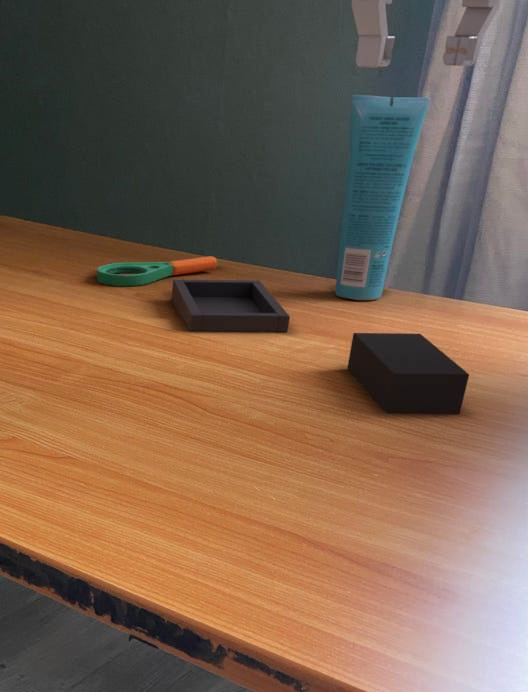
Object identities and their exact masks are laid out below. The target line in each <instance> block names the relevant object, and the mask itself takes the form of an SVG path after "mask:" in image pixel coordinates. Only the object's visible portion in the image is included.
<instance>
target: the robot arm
mask: <svg viewBox="0 0 528 692" xmlns="http://www.w3.org/2000/svg"><path fill="white" fill-rule="evenodd" d="M501 1H502V0H462V1H461V7H462V8H465V9H464V11H463V14H462V16H461V19H460V21H459V23H458V26H457V28H456V29H455V32H454V35H447V36H446V40H445V51H444V53H443V56H442V60H443V61H442V62H443V64H444V65H446V66H455V67H456V66H457V67H460V66H461V67H470V66H473V65H475V64H476V62H477V60H478V56H479V52H480V48H481V43H482V42H481V41H482V38H483V37H484V35H485V33H486V32H487V30H488V28H489V27H490V25H491V23H492V21H493V20H494V18H495V16H496V15H497V12H498V11H499V9H500V5H501ZM392 3H393V0H351V3H350V4H351V10H352V13H353V19H354V22H355V27H356V31H357V35H358V43H357V49H356V56H355V64H356V65H357V67H358V68H371V69H372V68H374V69H375V68H386V67H388V66H389V65H390V64H391V62H392V59H393V53H392V52H393V50H394V48H395V43H396V42H395V41H396V36H393V35H389V29H388V19H387V9H386V5H391V4H392Z"/></svg>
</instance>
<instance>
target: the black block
mask: <svg viewBox="0 0 528 692" xmlns="http://www.w3.org/2000/svg"><path fill="white" fill-rule="evenodd" d="M346 370H347V371H348V372H349V373H350V375H351V376H352V377H353V378H354V379H355V381H357V382H358V384H359V385H360V386H361V387H362V388H363V389H364V390H365V392H366V393H367V394H368V395H369V396H370V398H372V399H373V401H374V402H375V403H376V404H377V405H378V406H379V407H380V409H381V410H382V411H383V412H384V413H385V414H386V415H387V414H391V415H393V414H394V415H395V414H399V415H400V414H401V415H404V414H405V415H460V414H461V410H462V407H463V406H462V405H463V402H464V397H465V393H466V389H467V385H468V381H469V378H470V373H468V372H467V371H466V370H465V369H463V368H462V367H461V366H460V365H458V364H457V363H456V362H455V361H454V360H453V359H451V358H450V357H449V356H448V355H447V354H445V353H444V352H443V351H442V350H441V349H439V348H438V347H437V346H436V345H435V344H433V343H432V342H431V341H430V340H429V339H428V338H426V337H425V336H423V334H421V333H400V332H399V333H398V332H394V333H392V332H387V333H386V332H353V334H352V340H351V345H350V351H349V356H348V361H347V368H346Z"/></svg>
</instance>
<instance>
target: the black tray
mask: <svg viewBox="0 0 528 692" xmlns="http://www.w3.org/2000/svg"><path fill="white" fill-rule="evenodd" d="M171 302H172V304H173V305H174V308H175V310H176V312H177V314H178V316H179V318H180V319H181V320H184V322H185V324H186V326H187V328H188V331H189V332H190V333H193V332H194V333H267V334H268V333H269V334H270V333H271V334H272V333H273V334H274V333H277V334H280V333H281V334H282V333H283V334H288V331H289V324H290V315H289V314H288V313H287V311H286V310H285V309H284V308H283V307H282V305H281V304H280V303H279V301H278V300H277V299H276V298H275V297H274V296H273V295H272V294H271V292H270V291H269V290H268V289H267V288H266V286H265V285H264V284H263V283H262V282H261V281H260V280H250V279H249V280H248V279H246V280H245V279H241V280H240V279H173V280H172V288H171Z"/></svg>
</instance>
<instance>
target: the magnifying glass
mask: <svg viewBox="0 0 528 692" xmlns="http://www.w3.org/2000/svg"><path fill="white" fill-rule="evenodd" d="M217 267H218V260H217V258H216V257H215V256H212V255H208V256H200V257H195V258H186V259H179V260H178V259H177V260H171V261H163V262H162V261H157V262H156V261H155V262H153V261H150V262H149V261H148V262H147V261H146V262H145V261H143V262H139V261H138V262H114V263H113V262H112V263H108V264H104V265H101V266H98V267H97V270H96V281H97V282H98V283H99V284H103V285H107V286H114V287H136V286H142V285H147V284H150V283H153V282H156V281H159V280H161V279H164V278H167V277H170V276H178V275H185V274H191V273H199V272H205V271H206V272H207V271H213V270H215V269H216V268H217Z"/></svg>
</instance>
